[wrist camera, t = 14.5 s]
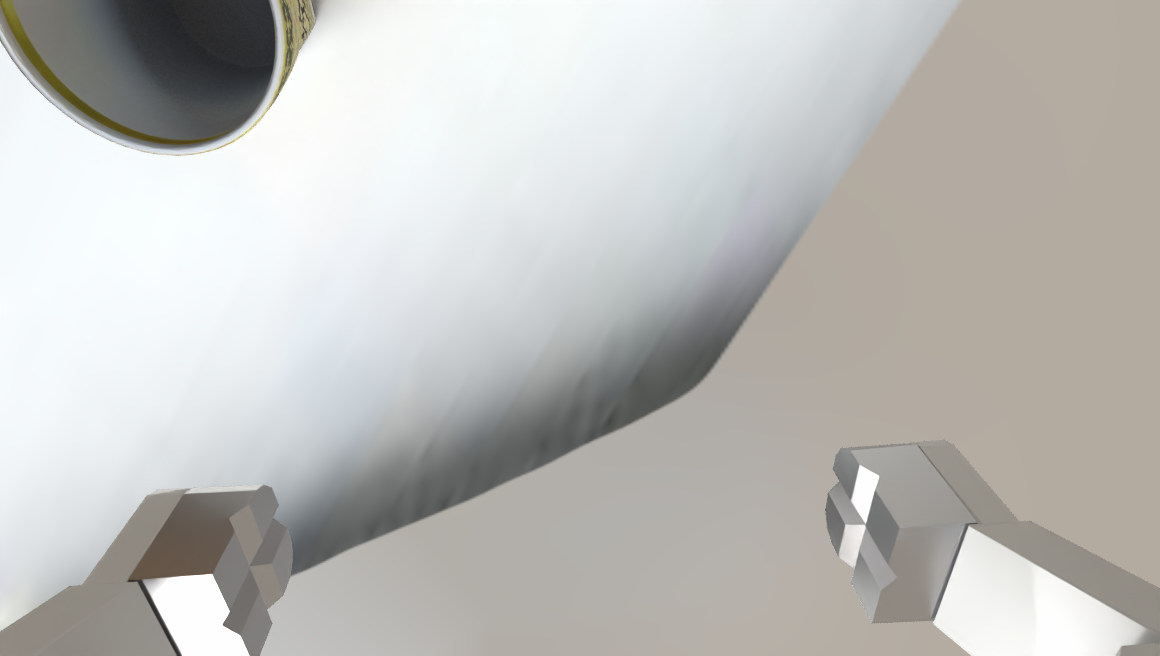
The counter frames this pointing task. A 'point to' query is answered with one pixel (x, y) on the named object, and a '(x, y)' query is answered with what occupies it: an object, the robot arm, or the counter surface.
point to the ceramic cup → (158, 64)
